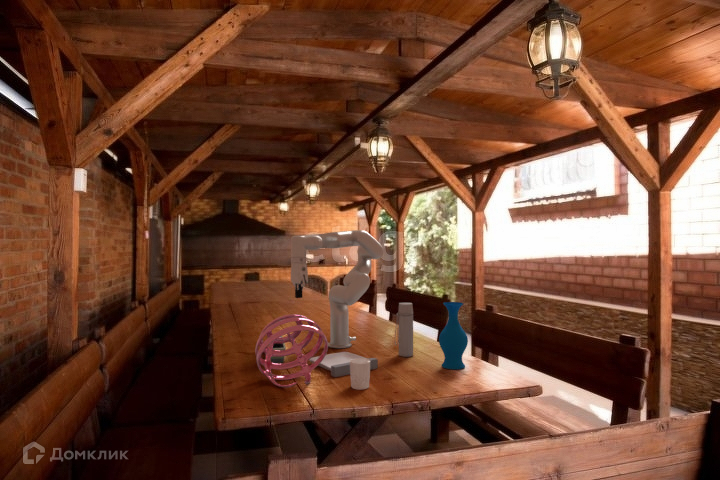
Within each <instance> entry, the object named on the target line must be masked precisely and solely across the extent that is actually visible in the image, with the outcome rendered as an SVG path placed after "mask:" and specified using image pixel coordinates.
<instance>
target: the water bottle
mask: <svg viewBox="0 0 720 480" xmlns="http://www.w3.org/2000/svg"><path fill="white" fill-rule="evenodd" d="M397 310H398V312H397V313H395V314H396V322H395V327H396V329H395V332H394V337H397V336H396V335H397V330H398V342H397V343H396V341H394V344H395V346H397V345H398V356H399V357H403V358H410V357H413V356H414V308H413V303H412V302H398V309H397Z"/></svg>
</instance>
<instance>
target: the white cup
mask: <svg viewBox="0 0 720 480" xmlns="http://www.w3.org/2000/svg"><path fill="white" fill-rule="evenodd" d="M365 358H366V357H365ZM365 358H355V359H351V360H350V374H349V375H350V376H349V377H350V385H351V386H350V387H351V388H352V389H354V390H357V391H359V390H360V391H361V390H362V391H363V390H366V389H369V388H370V378H371V377H370V375H371V370H370V360H369V358H368V359H365Z"/></svg>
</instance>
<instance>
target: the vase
mask: <svg viewBox="0 0 720 480" xmlns="http://www.w3.org/2000/svg"><path fill="white" fill-rule="evenodd" d="M443 305H444V306H445V308H446V309H447V312H448V318H447V323H446V325H445V326H444V327H443V329H442V330H441V332H440V333H439V335H438V336H439V337H438V344H439V346H440V348H441V351H442V352H443V356H444V360H443V362H442V364H441V367H442V368H444V369H447V370H453V371H454V370H455V371H456V370H463V369H465V368H466V365H465V363H464V362H463V355H464V353H465V351H466V349H467V346H468V342H469V339H468V335H467V333H466V331H465V330H464V329H463V327H462V325H461V324H460V322H459V321H460V320H459V316H458V315H459V310H460V308H461V307H462V306H464V302H459V301H457V302H456V301H447V302H443Z"/></svg>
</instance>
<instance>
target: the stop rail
mask: <svg viewBox="0 0 720 480" xmlns="http://www.w3.org/2000/svg"><path fill="white" fill-rule="evenodd" d="M368 359H369V360H370V371H371V370H376V369H377V370H378V364H379V363H378V358H375V357H370V358H368ZM348 375H350V362H348V363H343V364H338V365H333V366H331V371H330V376H331V377H334V378H338V377H344V376H348Z"/></svg>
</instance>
